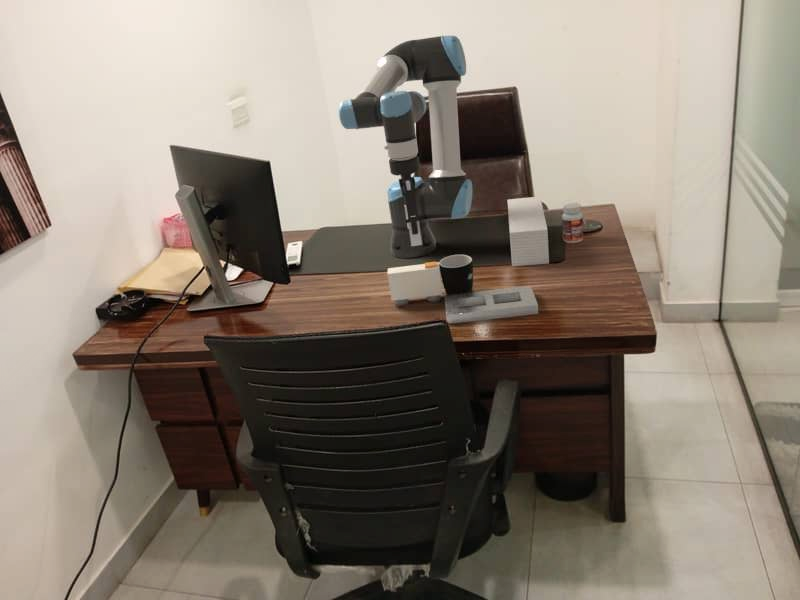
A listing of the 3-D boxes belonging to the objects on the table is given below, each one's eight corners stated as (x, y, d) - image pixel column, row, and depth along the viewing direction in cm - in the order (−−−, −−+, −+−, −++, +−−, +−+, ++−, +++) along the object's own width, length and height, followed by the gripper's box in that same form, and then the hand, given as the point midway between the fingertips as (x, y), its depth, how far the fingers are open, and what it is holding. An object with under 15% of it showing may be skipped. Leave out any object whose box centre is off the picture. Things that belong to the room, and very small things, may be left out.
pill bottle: (574, 245, 205) (572, 210, 200) (558, 241, 210) (557, 206, 205) (587, 239, 208) (586, 204, 203) (572, 235, 213) (571, 201, 208)
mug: (473, 301, 179) (470, 266, 175) (440, 302, 182) (436, 268, 177) (478, 282, 190) (475, 249, 186) (447, 283, 192) (443, 251, 188)
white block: (393, 300, 187) (387, 266, 183) (442, 294, 186) (438, 260, 182) (392, 306, 184) (387, 271, 179) (443, 300, 182) (439, 265, 178)
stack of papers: (509, 230, 226) (507, 199, 221) (541, 227, 224) (540, 196, 220) (512, 267, 197) (509, 232, 193) (549, 264, 195) (547, 229, 191)
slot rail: (445, 303, 181) (444, 295, 180) (531, 293, 179) (530, 285, 178) (447, 324, 170) (446, 315, 169) (538, 313, 168) (537, 304, 167)
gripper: (386, 148, 178) (397, 223, 187) (390, 171, 156) (403, 255, 165) (414, 143, 178) (424, 219, 187) (422, 166, 156) (433, 250, 165)
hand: (414, 236), depth 176 cm, fingers open, 13 cm apart
